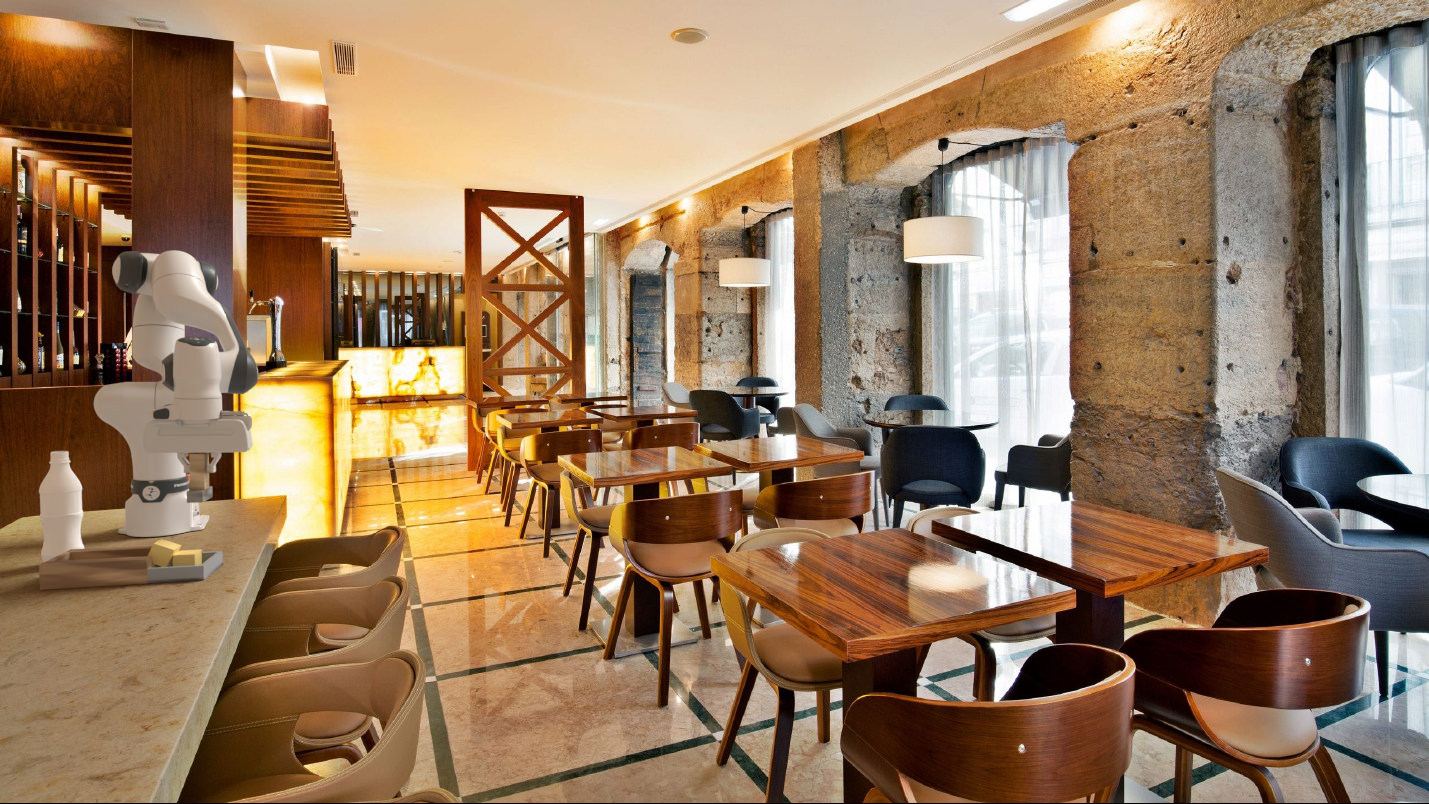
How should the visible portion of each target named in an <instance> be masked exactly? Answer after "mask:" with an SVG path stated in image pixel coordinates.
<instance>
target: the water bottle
mask: <svg viewBox="0 0 1429 804" xmlns="http://www.w3.org/2000/svg"><path fill="white" fill-rule="evenodd" d="M69 455H70V454H69V451H67V450H55V451H51V452H50V455H49V456H50V459H49V460H50V461H49V462H48V463H49V465H50V466H49V470H48V472H47V474H46V476H45V477H44V478H43V480H42V481H41V483H40V485H39V489H38V494H39V507H40V511H39V512H40V514H39V521H40V524H41V526H42V529H43V545H42V548H41V550H40V556H41V561H42V563H44V562H46V561H48V560H50V559H52V558H54V557H56V556H58V555H60V554H62V553H64V552H66V551H68V550H71V549H85V545H84V544H83V540H82V534H81V533H82V532H81V527H82V522H83V518H84V510H83V495H82V494H83V493H82V491H83V486H82V483H81V481H80V480H79V478H78V477H77V475H76V474H75V472H74V471H73V470H72V468H71V466H70V463H71V460H70V459H71V458H70V457H69Z"/></svg>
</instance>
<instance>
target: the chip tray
mask: <svg viewBox="0 0 1429 804" xmlns="http://www.w3.org/2000/svg"><path fill="white" fill-rule="evenodd" d="M201 552H202V564H201V565H193V566H174V567H173V563H172V564H170V565H169V566H168V567H156V568H148V569H147V583H146V584H158V583H162V584H163V583H174V582H175V583H176V582H177V583H178V582H192V581H193V582H194V581H204V580H206V579H207V578H208V577H209V576H210V575H212V574H213V573H215V571H217V570H218V569H219V568H220V567H222V565H223V564H224V562H223V559H224V557H223V550H218V551H217V550H214V551H201Z"/></svg>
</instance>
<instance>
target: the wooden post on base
mask: <svg viewBox="0 0 1429 804" xmlns="http://www.w3.org/2000/svg"><path fill="white" fill-rule="evenodd" d="M188 456H189V458H188V459H189V460H188V462H189V463H190V473H189V474H190V482H189V485H190V488H189V491H187V503H199V504H200V503H204V502H206V501H208V500H210V499H212V498H213V496H214V495H213V485H212V486H211V485H210V473H206V465H207V464H210V461H209V459H210V458H209V457H210V453H188Z"/></svg>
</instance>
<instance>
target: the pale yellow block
mask: <svg viewBox="0 0 1429 804" xmlns="http://www.w3.org/2000/svg"><path fill="white" fill-rule="evenodd" d="M151 546H152V548H151V550H150V552H149V554H148V556H152V564H156V565H159V566H162V567H168V566H169V565H170V564H172V563H173V555H174V554H175V553H177V552H178V551H180V549H181V548H182V545H181V544H179V543H175V542H172V541H169V540H166V539H163V538H161V539H158V540H157V541H156V542H153V543H152V545H151Z"/></svg>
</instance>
